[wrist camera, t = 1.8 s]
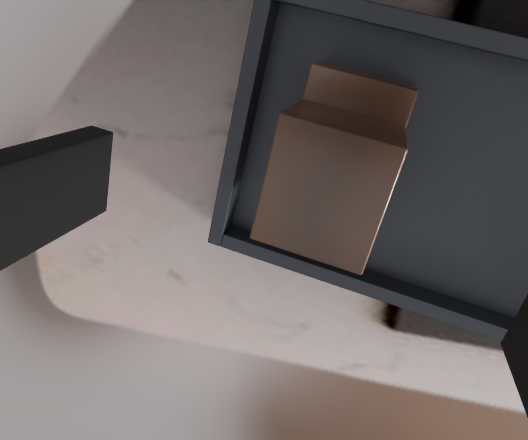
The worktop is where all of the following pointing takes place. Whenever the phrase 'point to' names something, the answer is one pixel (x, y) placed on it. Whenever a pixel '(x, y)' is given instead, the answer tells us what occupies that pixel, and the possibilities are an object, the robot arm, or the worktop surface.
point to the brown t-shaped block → (335, 165)
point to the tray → (416, 161)
